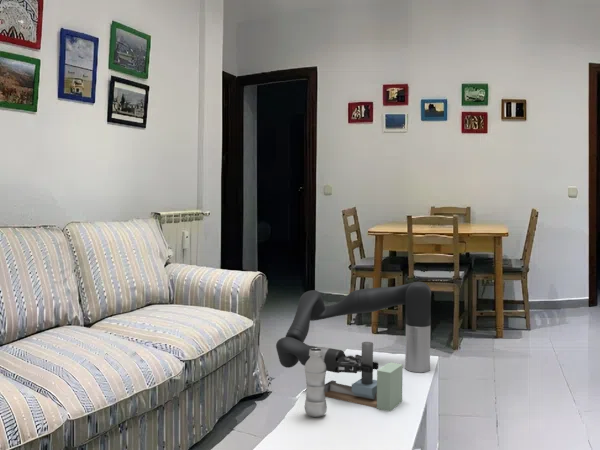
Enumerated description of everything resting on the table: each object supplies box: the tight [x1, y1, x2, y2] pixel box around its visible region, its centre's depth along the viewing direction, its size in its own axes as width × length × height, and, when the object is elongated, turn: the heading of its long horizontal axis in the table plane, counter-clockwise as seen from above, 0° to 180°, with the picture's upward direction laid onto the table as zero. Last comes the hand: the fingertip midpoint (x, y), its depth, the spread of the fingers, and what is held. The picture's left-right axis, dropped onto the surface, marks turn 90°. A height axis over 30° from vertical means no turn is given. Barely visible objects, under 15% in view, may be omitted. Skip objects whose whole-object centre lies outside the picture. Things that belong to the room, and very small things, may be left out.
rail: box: [324, 380, 377, 409], centre depth 183 cm, size 9×20×3 cm, turn 58°
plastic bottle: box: [304, 348, 328, 418], centre depth 167 cm, size 6×7×20 cm
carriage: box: [351, 341, 377, 399], centre depth 180 cm, size 8×7×17 cm
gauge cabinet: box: [376, 361, 404, 412], centre depth 176 cm, size 10×5×12 cm, turn 148°
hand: (375, 367), depth 179 cm, fingers closed on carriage, 3 cm apart
